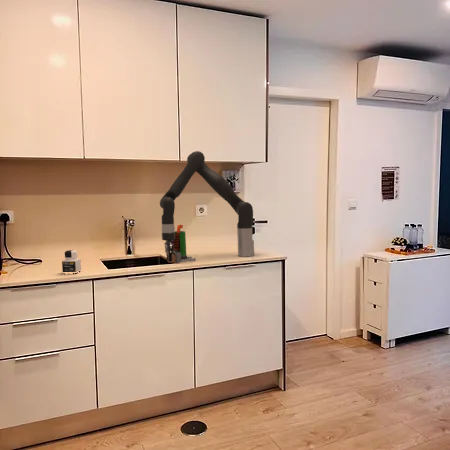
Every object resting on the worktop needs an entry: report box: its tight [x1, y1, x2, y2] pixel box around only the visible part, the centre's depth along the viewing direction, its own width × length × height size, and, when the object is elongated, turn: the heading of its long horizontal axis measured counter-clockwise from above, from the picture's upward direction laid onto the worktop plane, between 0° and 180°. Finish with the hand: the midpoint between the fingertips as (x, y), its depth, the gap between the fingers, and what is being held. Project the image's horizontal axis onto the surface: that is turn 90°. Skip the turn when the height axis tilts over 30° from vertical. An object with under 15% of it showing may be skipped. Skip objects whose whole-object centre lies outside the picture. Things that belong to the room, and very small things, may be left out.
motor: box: [172, 224, 187, 256], centre depth 262 cm, size 10×9×20 cm
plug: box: [167, 254, 188, 264], centre depth 245 cm, size 11×4×4 cm, turn 110°
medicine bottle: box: [61, 249, 82, 273], centre depth 218 cm, size 7×7×12 cm
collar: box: [173, 250, 196, 264], centre depth 246 cm, size 12×12×6 cm
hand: (169, 260), depth 243 cm, fingers closed on plug, 4 cm apart
